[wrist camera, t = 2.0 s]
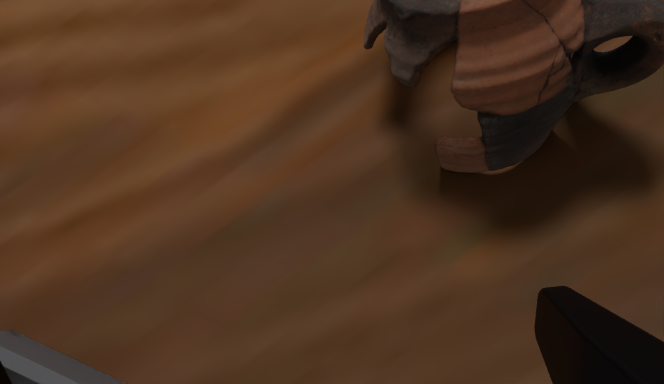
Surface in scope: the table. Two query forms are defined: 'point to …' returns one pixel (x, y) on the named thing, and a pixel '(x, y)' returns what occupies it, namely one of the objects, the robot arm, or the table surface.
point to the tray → (44, 364)
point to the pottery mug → (518, 62)
